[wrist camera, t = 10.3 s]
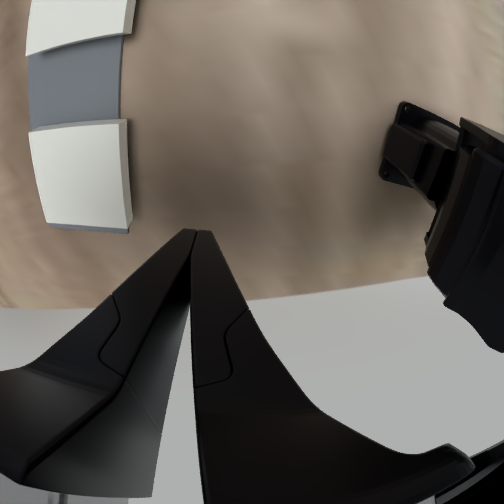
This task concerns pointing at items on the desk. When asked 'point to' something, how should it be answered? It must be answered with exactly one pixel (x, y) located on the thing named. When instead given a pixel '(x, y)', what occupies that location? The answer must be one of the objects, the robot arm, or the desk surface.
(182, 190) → the desk surface
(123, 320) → the robot arm
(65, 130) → the glazed tile
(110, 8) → the glazed tile
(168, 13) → the desk surface
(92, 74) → the rubber mat
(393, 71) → the desk surface
